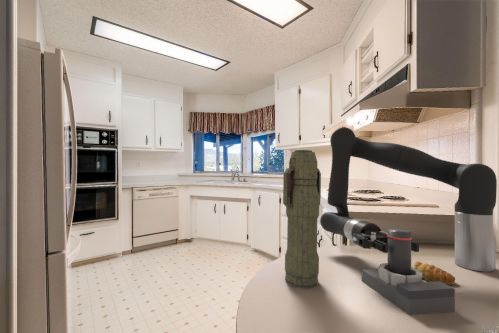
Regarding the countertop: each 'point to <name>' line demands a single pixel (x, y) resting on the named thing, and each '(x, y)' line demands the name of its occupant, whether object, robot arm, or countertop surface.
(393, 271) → the lens
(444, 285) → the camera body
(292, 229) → the thermos
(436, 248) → the countertop surface
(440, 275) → the pastry
